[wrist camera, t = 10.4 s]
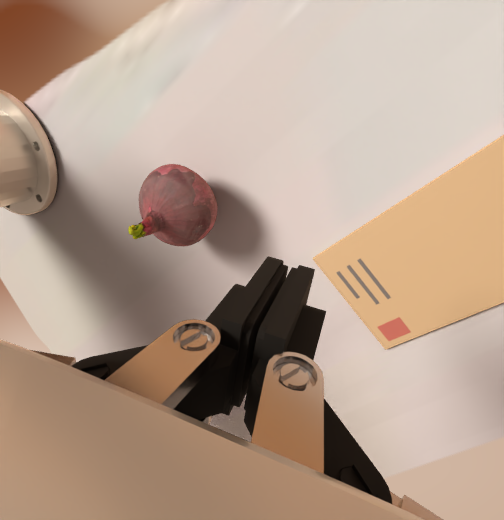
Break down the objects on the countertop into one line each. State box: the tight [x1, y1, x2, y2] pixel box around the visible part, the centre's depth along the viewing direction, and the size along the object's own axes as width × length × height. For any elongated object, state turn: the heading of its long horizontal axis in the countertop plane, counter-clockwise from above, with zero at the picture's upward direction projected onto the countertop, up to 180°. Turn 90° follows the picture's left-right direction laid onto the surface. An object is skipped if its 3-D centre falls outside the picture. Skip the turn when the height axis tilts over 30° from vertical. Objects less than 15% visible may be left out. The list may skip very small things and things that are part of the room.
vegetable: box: [128, 164, 217, 246], centre depth 25 cm, size 6×6×10 cm
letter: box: [313, 135, 504, 350], centre depth 24 cm, size 10×15×1 cm, turn 133°
